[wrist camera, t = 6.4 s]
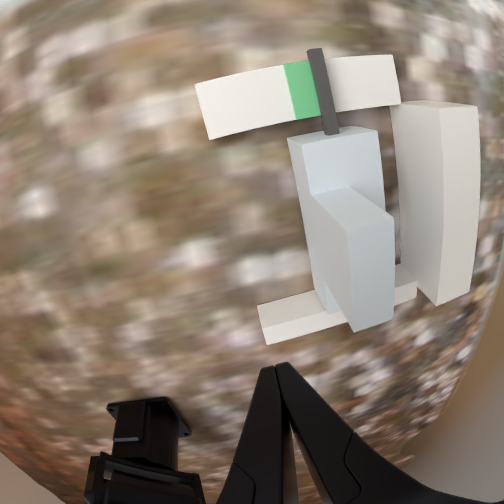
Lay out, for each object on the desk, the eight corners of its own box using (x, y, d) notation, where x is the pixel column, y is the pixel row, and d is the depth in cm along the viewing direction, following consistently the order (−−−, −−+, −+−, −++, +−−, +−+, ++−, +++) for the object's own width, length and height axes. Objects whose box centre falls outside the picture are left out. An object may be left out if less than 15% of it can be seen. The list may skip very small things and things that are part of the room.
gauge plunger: (368, 271, 21) (423, 341, 14) (314, 288, 21) (354, 367, 14) (337, 50, 14) (412, 27, 8) (268, 59, 14) (309, 29, 8)
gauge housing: (430, 268, 22) (466, 303, 18) (261, 321, 22) (273, 372, 18) (417, 56, 15) (469, 52, 11) (196, 86, 15) (189, 78, 11)
